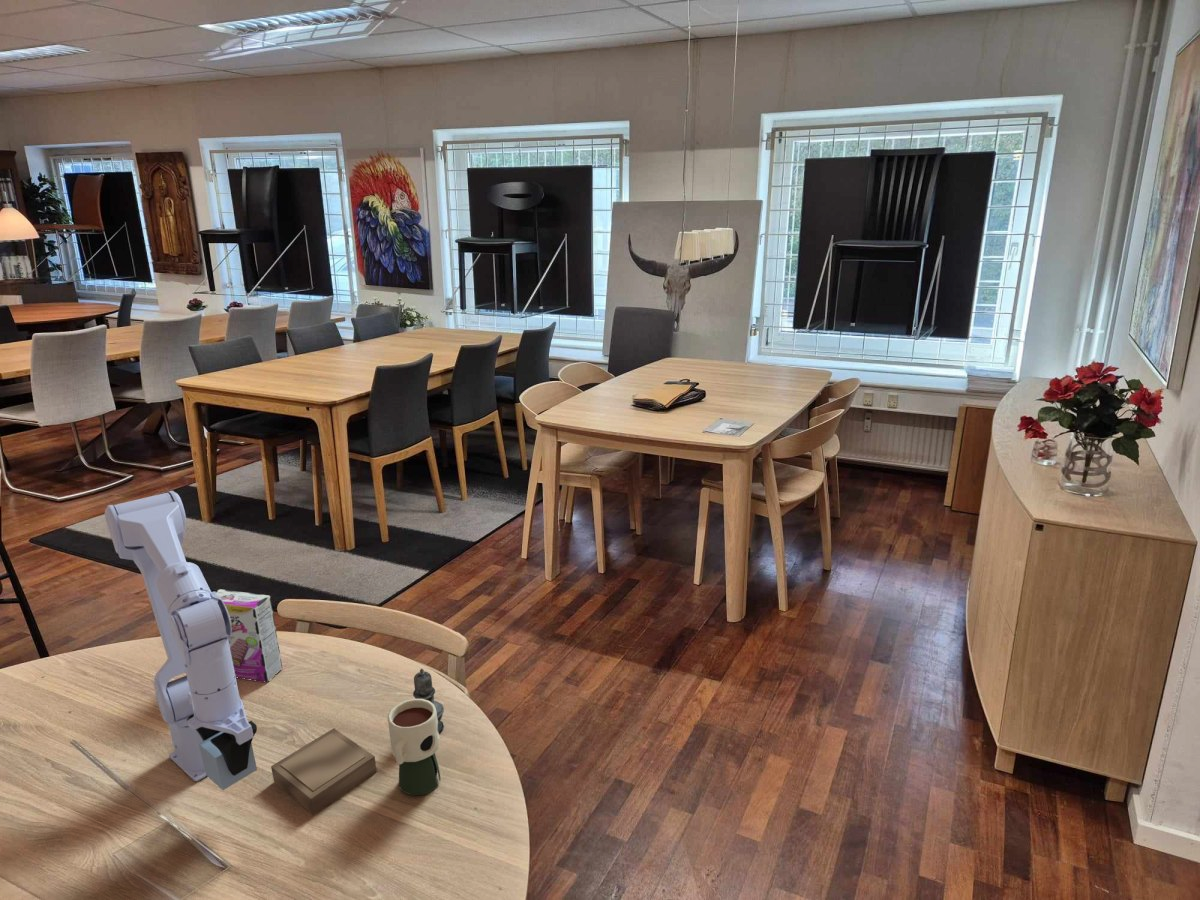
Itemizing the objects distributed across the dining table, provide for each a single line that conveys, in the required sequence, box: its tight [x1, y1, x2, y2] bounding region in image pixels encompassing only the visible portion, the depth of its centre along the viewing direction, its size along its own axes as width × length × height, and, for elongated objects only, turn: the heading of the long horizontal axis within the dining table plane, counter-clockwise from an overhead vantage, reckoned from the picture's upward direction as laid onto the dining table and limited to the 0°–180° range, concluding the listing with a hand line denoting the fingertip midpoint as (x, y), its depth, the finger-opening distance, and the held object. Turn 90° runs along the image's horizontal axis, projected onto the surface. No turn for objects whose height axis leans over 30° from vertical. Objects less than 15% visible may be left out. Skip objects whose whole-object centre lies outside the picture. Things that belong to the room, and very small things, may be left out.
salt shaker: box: [412, 668, 445, 735], centre depth 126 cm, size 6×6×12 cm
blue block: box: [199, 732, 258, 791], centre depth 108 cm, size 5×5×6 cm
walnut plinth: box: [270, 727, 378, 816], centre depth 117 cm, size 11×11×3 cm
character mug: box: [387, 698, 441, 796], centre depth 114 cm, size 11×7×13 cm, turn 168°
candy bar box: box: [215, 589, 283, 683], centre depth 141 cm, size 11×5×16 cm, turn 77°
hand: (229, 762), depth 108 cm, fingers closed on blue block, 5 cm apart
